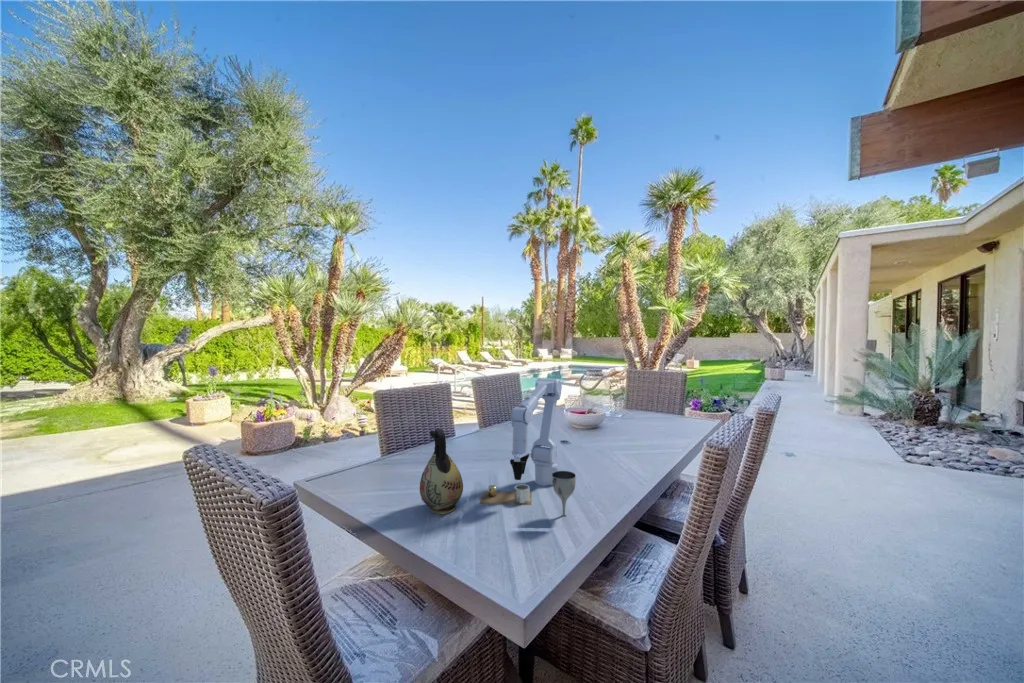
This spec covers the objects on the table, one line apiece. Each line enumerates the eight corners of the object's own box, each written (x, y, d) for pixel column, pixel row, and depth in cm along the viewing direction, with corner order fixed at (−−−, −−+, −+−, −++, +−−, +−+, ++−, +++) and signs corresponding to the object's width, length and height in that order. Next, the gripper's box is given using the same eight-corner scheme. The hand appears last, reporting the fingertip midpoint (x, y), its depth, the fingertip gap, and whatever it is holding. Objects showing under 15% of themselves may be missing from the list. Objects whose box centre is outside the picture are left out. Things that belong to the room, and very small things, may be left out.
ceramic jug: (416, 504, 148) (415, 423, 147) (457, 497, 154) (456, 420, 153) (424, 524, 132) (423, 434, 132) (469, 516, 138) (468, 430, 137)
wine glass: (570, 526, 130) (569, 480, 130) (548, 520, 135) (547, 476, 134) (579, 516, 137) (579, 473, 137) (558, 511, 141) (558, 469, 141)
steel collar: (529, 497, 151) (529, 484, 151) (529, 503, 145) (529, 490, 145) (515, 497, 151) (514, 484, 151) (514, 503, 145) (514, 490, 145)
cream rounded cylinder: (496, 494, 154) (496, 485, 154) (495, 497, 151) (495, 488, 151) (488, 494, 154) (488, 485, 154) (488, 497, 151) (487, 488, 151)
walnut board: (531, 494, 156) (531, 491, 156) (531, 507, 144) (531, 504, 144) (483, 493, 157) (483, 490, 157) (479, 506, 145) (479, 504, 145)
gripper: (528, 444, 141) (527, 483, 140) (533, 436, 155) (532, 471, 155) (508, 443, 142) (507, 481, 142) (515, 435, 156) (514, 470, 156)
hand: (519, 476), depth 148 cm, fingers open, 7 cm apart
